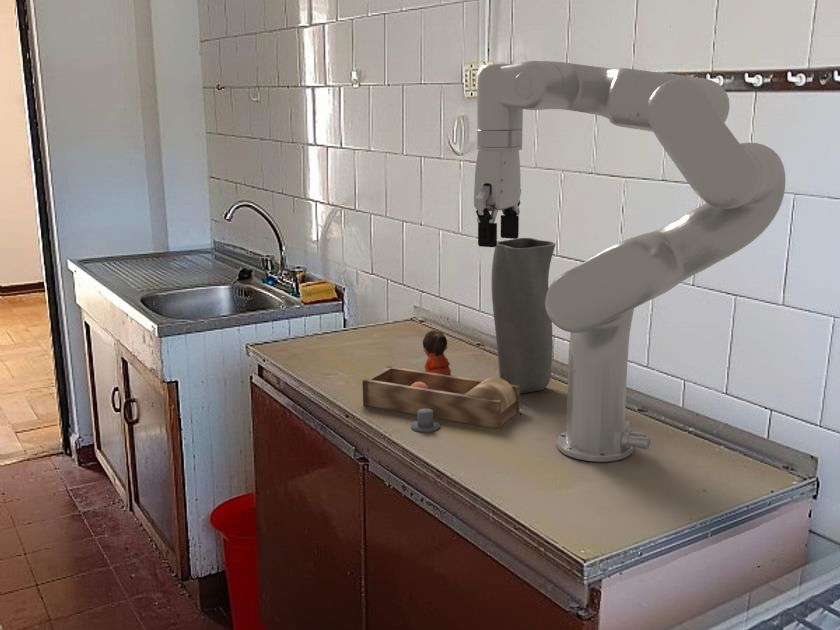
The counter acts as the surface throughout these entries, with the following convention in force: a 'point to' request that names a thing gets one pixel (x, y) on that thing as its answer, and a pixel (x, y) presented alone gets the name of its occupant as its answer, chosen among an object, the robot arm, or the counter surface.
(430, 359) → the figurine
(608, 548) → the counter surface
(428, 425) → the stand
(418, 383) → the ball
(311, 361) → the counter surface
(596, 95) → the robot arm
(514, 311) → the vase
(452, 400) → the wooden trough
